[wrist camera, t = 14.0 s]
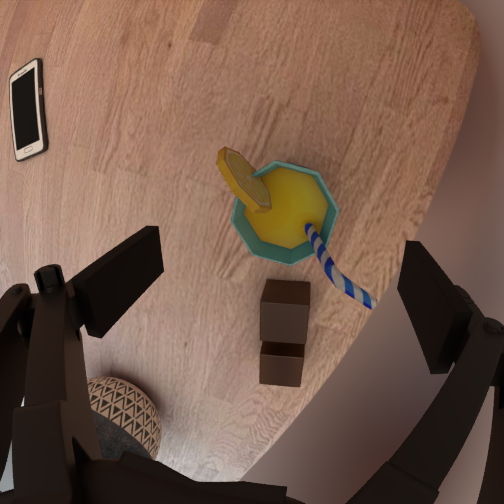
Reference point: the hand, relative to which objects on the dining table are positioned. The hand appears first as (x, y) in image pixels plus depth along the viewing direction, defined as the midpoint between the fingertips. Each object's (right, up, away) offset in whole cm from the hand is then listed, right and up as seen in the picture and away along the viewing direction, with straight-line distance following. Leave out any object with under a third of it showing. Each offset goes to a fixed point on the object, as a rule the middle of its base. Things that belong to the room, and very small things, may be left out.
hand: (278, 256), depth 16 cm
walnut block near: (+3, -5, +20) cm, 21 cm away
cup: (+3, +6, +16) cm, 17 cm away
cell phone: (-34, +21, +17) cm, 43 cm away
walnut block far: (+3, -12, +23) cm, 26 cm away
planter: (-24, -26, +34) cm, 49 cm away
